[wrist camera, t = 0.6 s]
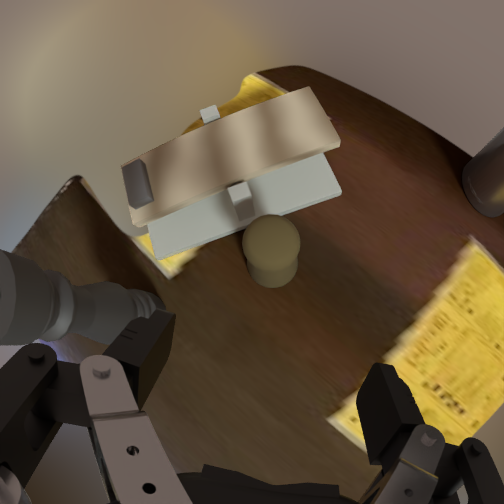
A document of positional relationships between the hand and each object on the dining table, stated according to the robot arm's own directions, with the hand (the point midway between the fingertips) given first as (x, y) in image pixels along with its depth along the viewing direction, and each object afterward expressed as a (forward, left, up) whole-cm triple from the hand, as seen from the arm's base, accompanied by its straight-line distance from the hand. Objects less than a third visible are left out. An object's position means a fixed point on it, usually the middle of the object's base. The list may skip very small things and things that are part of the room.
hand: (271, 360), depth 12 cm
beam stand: (-2, -20, -25) cm, 32 cm away
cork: (-3, -8, -25) cm, 27 cm away
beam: (-2, -20, -19) cm, 28 cm away
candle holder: (+14, -7, -25) cm, 30 cm away
